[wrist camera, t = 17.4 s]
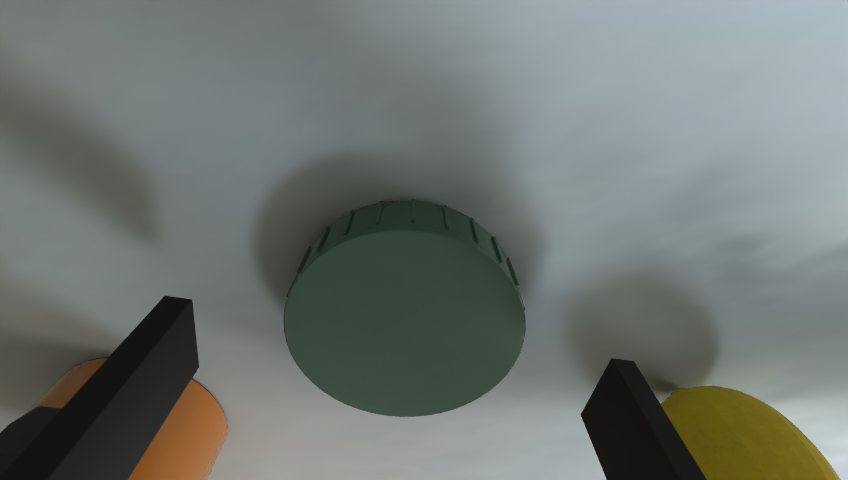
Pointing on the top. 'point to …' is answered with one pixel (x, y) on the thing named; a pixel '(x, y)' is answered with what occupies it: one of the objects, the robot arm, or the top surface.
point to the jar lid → (405, 310)
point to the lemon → (742, 437)
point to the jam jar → (163, 429)
